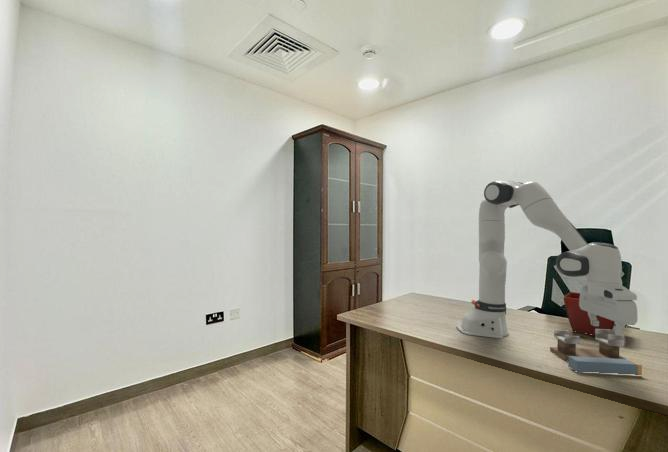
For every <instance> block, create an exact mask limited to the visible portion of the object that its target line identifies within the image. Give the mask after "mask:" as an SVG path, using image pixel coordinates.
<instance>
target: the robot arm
mask: <svg viewBox="0 0 668 452" xmlns="http://www.w3.org/2000/svg"><path fill="white" fill-rule="evenodd" d="M483 196H484V197H483V198H484V199H483V200H482V201H481V203H480V205H479V209H478V262H479V269H478V271H479V272H478V273H479V275H478V277H479V278H478V300H474V299H472V300H471V304H472V305H474V308H472V309H470V310H469V311H467V312H466V313H464V314H463V315H462V317H461V322H460V323H457V324H456V329H457V330H458V331H459V332H461V333H463V334H465V335H469V336H478V337H484V338H485V337H486V338H494V339H495V338H496V339H503V338H505V337H506V336H509V334H510V332H509V330H508V324H507V318H506V314H507V303H506V280H507V267H508V266H507V265H508V263H507V262H508V261H507V258H506V256H505V241H506V229H505V228H506V226H505V225H506V224H505V222H506V221H505V217H506V216H505V213H506V209H507V208H509V209H513V208H515V207H517V206H519V207H520V208H521V210H522V212H523V214H524V215H525V217H526V218H527V220H528V221H529V222H530V223H531V224H532V225H533V226H535V227H538V228H541V229H544V230H547V231H549V232H551V233H553V234H554V235H556V236H557V237H558V238H559V239H560V240H561V241H562V243H564V245H565V247H566V248H567V249H568V251H565V252H564V251H563V252H562V253H560V254H558V255H557V257H556V259H555V266H556V268H557V270H558V272H559V273H560V274H562V275H564V276H566V277H571V278H577V277H586V279H587V285H586V284H585V285H583V286H582V287H581V290H580V292H579V293H580V299H579V306H580V308H581V309H582V310H585V311H587V312H588V316H589V318H590V320H591V325H593V326H599V321H597V318H596V316H597V315H598V316H601V317H604V318H607V319H609V320H612V321H615V325H614V328H613V329H612V331H613V332H612V333H613V334H615V335H617V336H621V335H623V330H624V329H625V327H626V326H635V325H636V324H637V322H638V306H637V304H636V302H635V301H636V300H637V299H638V295H637V293H635V292H634V291H632V290H630V289H628V288H627V287H625V286H624V285H623V280H622V276H621V274H622V271H623V266H622V264H623V263H622V257H621V252H620V249H619V247H618V246H616V245H615V244H612V243H606V242H599V241H596V242H595V241H593V242H590V243H588V242H587V241H586V239H585V238H584V236H583V235H582V234H581V233H580V232H579V231H578V229H577V228H576V227H575V226H574V225H573V223H572V222H571V221H570V220H569V219H568V218H567V216H566V215H565V214H564V213H563V212H562V210H561V209H560V208H559V206H558V204H557V203H556V202H555V200H554V198H552V196H551V195H550V194H549V193H548V191H547V190H546V188H544V187H543V186H542V185H541V184H540V183H538V182H537V181H526V182H524V183H523V182H520V181H513V180H494V181H491V182H490V183H488V184H487V185H486V186H485V188H484V191H483Z"/></svg>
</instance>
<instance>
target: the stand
mask: <svg viewBox="0 0 668 452" xmlns="http://www.w3.org/2000/svg"><path fill="white" fill-rule="evenodd" d="M569 331H570V330H562V329H560V330H559V329H554V330H553V337H554V338H555V339H556V340H557V347H555V346H549V347H550V348H549V351H550V352H551V351H552V352H551V353H553V354H554V353H555V354H554V355H556V356H557V355H558V356H557V357H559V356H560V357H561V358H560V357H559V358H560V359H562V358H563V359H564V360H563V359H562V360H563V361H565V360H569V356H577V357H595V358H612V359H626V358H625V357H623V356H621V355H620V347H624V346H625V345H626V335H625V334H622V335H621V336H617V335H615V334H613V333H612V332H613V331H612V330H608V329H595V336H594V337H595V338H594V339H595V340H597V342H599V343H598V344H599V345H598V346H599V347H598V348H599V349H596V348H595V349H593V348H592V349H591V348H578V347H576V345H580V342H581V341H580V336H579V335H569Z"/></svg>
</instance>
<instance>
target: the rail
mask: <svg viewBox="0 0 668 452" xmlns="http://www.w3.org/2000/svg"><path fill="white" fill-rule="evenodd" d="M642 365H643V364H641V363H639V362H637V361H635V360H633V359H628V358H625V359H612V358H595V357H577V356H569V361H568V368H569V367H571V368H572V369H573V370H575V371H577V372H599V373H618V374H635V375H643V374H642V373H643V372H642V371H643V370H642V369H643V367H642ZM572 369H571V370H572ZM573 370H572V371H573ZM575 371H574V372H575Z"/></svg>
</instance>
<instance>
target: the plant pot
mask: <svg viewBox="0 0 668 452" xmlns="http://www.w3.org/2000/svg"><path fill="white" fill-rule="evenodd" d="M580 293H581V292H572V291H570V292H568V293H567V294H565V295H564V296H563V303H564V307H565V311H566V316H567V318H568V319H567V320H568V321H569V325H570V327H571V329H572V332H574V331H576V332H575V333H578V332H581V333H580V334H583V333H587V334H592V335H595V329H608V330H612V329H615V326H616V325H615V321H612V320H609V319H607V318H604V317H601V316H598V315H597V316H596V318H597V321H599V326H593V325H591V320H590V318H589V316H588V312H587V311H585V310H582V309H581V308H580V306H579V299H580ZM587 334H586V335H587ZM592 335H591V336H592Z"/></svg>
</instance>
